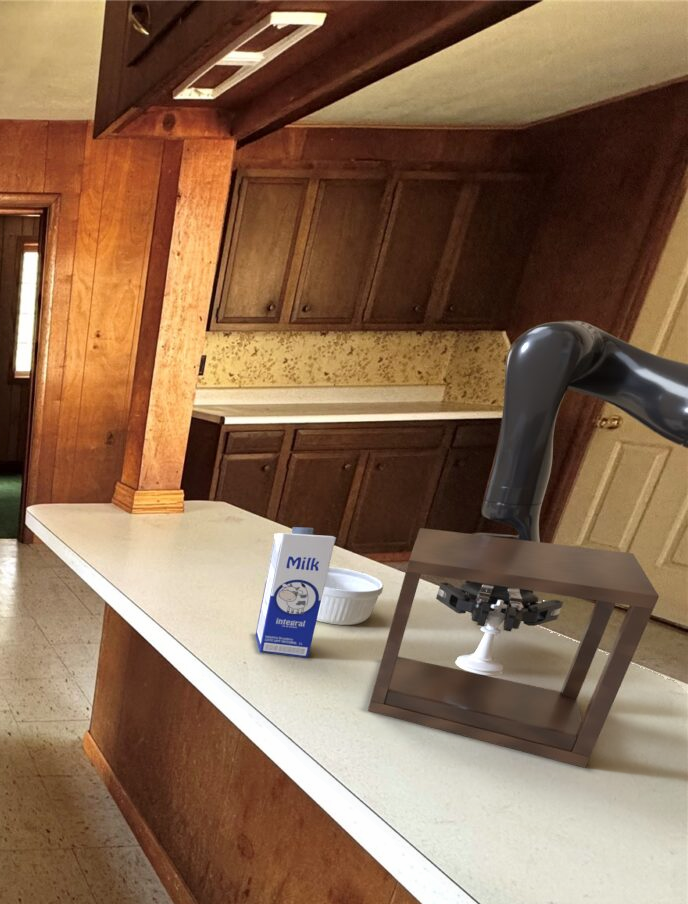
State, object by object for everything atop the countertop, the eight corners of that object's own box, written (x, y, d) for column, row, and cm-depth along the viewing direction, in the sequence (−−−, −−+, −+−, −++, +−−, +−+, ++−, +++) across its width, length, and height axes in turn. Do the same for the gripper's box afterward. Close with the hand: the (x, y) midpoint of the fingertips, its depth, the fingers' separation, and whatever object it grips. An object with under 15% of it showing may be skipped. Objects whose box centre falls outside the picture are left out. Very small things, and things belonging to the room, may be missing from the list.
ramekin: (393, 622, 116) (403, 585, 113) (334, 633, 112) (343, 595, 110) (326, 596, 127) (334, 562, 125) (271, 605, 124) (278, 571, 121)
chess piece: (511, 675, 89) (536, 607, 85) (474, 676, 89) (497, 608, 85) (482, 658, 93) (504, 593, 90) (446, 659, 93) (467, 594, 90)
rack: (571, 704, 89) (633, 553, 81) (585, 768, 77) (659, 596, 69) (382, 662, 102) (420, 527, 94) (367, 710, 89) (409, 560, 81)
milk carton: (258, 652, 106) (282, 532, 99) (254, 635, 112) (276, 521, 105) (309, 658, 104) (337, 536, 97) (301, 640, 110) (328, 524, 102)
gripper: (444, 551, 101) (437, 584, 89) (570, 568, 92) (580, 607, 80) (431, 597, 104) (422, 634, 92) (552, 617, 95) (559, 662, 83)
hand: (496, 621), depth 86 cm, fingers closed on chess piece
